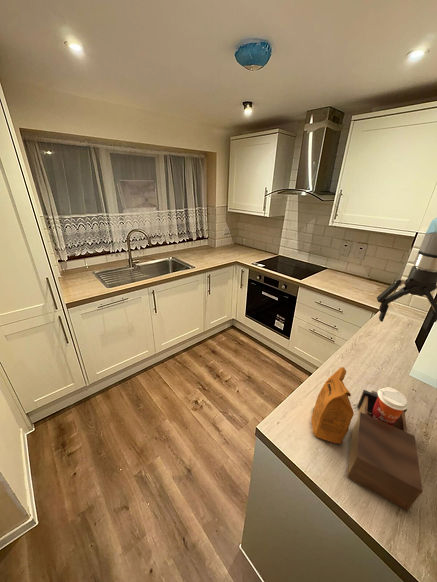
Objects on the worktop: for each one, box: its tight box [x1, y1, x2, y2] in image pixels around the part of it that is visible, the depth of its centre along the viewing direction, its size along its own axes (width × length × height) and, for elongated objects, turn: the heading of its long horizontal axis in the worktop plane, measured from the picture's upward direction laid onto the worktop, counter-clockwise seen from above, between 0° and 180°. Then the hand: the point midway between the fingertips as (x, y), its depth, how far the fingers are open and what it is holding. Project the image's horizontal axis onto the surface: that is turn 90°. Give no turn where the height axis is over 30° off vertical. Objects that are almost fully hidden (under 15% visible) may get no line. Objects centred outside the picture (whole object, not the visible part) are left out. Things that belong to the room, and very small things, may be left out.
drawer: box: [356, 389, 408, 433], centre depth 77 cm, size 20×12×8 cm, turn 148°
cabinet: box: [346, 412, 423, 512], centre depth 65 cm, size 16×14×10 cm
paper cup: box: [370, 386, 409, 426], centre depth 74 cm, size 8×8×14 cm
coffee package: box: [311, 366, 355, 444], centre depth 74 cm, size 10×12×22 cm
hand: (402, 324), depth 84 cm, fingers open, 13 cm apart
